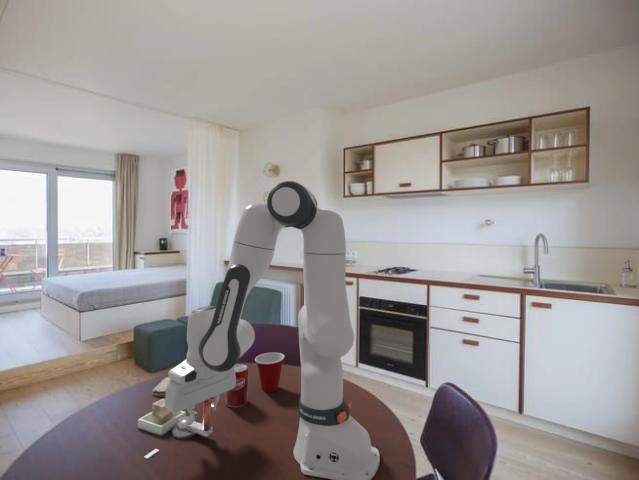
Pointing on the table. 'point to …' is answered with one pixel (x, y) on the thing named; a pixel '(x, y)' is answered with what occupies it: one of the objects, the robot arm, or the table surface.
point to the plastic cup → (269, 370)
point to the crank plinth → (181, 433)
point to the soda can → (239, 388)
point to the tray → (157, 429)
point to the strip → (151, 453)
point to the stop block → (160, 413)
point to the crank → (194, 426)
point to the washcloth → (161, 388)
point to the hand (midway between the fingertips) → (202, 415)
